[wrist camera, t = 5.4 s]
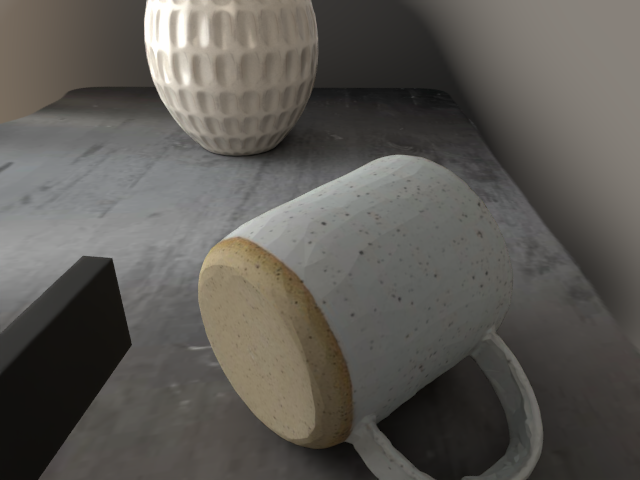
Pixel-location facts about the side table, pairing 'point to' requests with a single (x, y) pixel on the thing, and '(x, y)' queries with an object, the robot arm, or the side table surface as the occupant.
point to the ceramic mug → (367, 310)
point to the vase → (233, 68)
